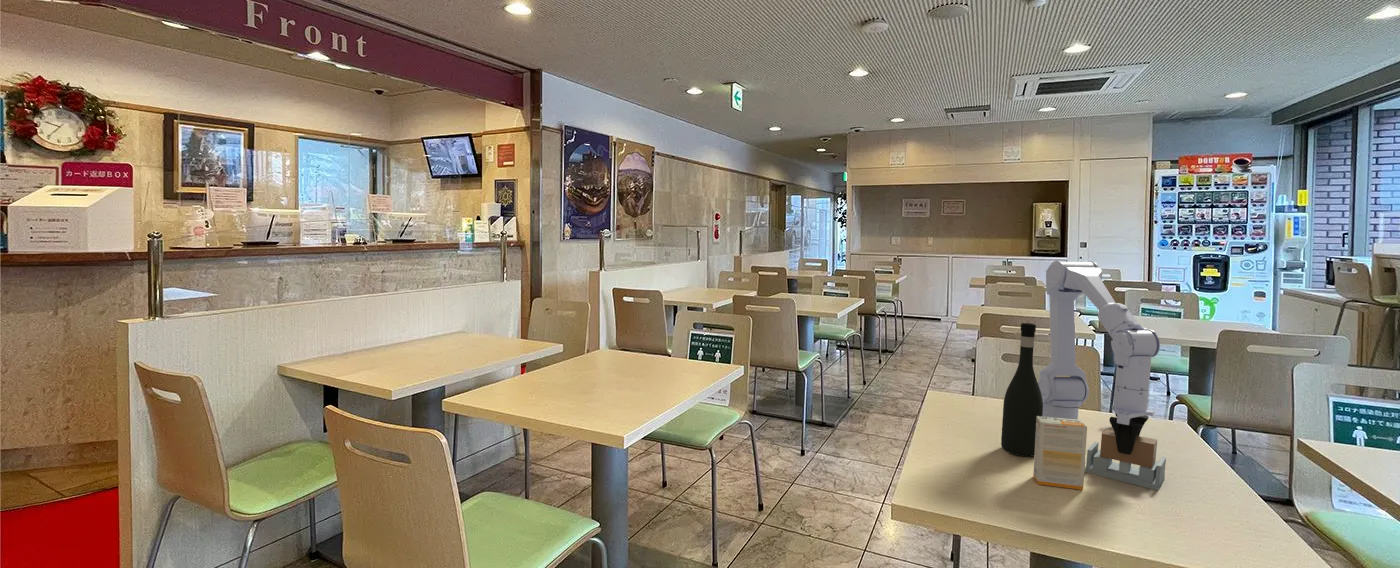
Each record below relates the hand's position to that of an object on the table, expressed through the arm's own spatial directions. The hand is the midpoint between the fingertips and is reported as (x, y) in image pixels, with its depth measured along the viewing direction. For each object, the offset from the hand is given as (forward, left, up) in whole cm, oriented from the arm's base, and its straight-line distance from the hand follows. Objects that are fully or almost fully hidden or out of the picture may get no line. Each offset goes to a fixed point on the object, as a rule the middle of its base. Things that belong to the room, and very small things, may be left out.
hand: (1126, 450), depth 127 cm
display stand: (0, 0, -5) cm, 5 cm away
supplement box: (-9, -15, -6) cm, 18 cm away
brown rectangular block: (0, 0, -2) cm, 2 cm away
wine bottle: (-20, -1, -6) cm, 21 cm away
